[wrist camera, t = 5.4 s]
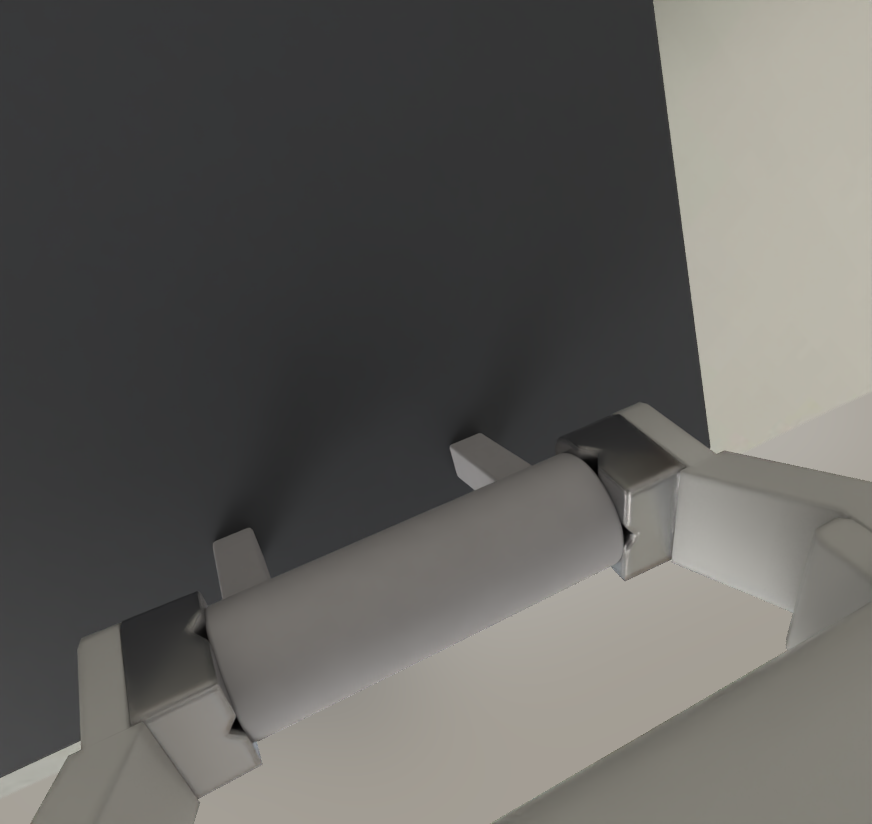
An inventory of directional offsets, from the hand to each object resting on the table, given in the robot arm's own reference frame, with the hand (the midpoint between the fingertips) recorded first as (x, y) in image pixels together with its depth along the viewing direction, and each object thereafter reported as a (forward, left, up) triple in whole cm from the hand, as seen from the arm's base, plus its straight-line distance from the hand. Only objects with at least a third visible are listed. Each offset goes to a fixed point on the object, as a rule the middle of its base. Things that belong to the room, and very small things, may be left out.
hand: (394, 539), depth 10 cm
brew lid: (0, +3, -5) cm, 6 cm away
